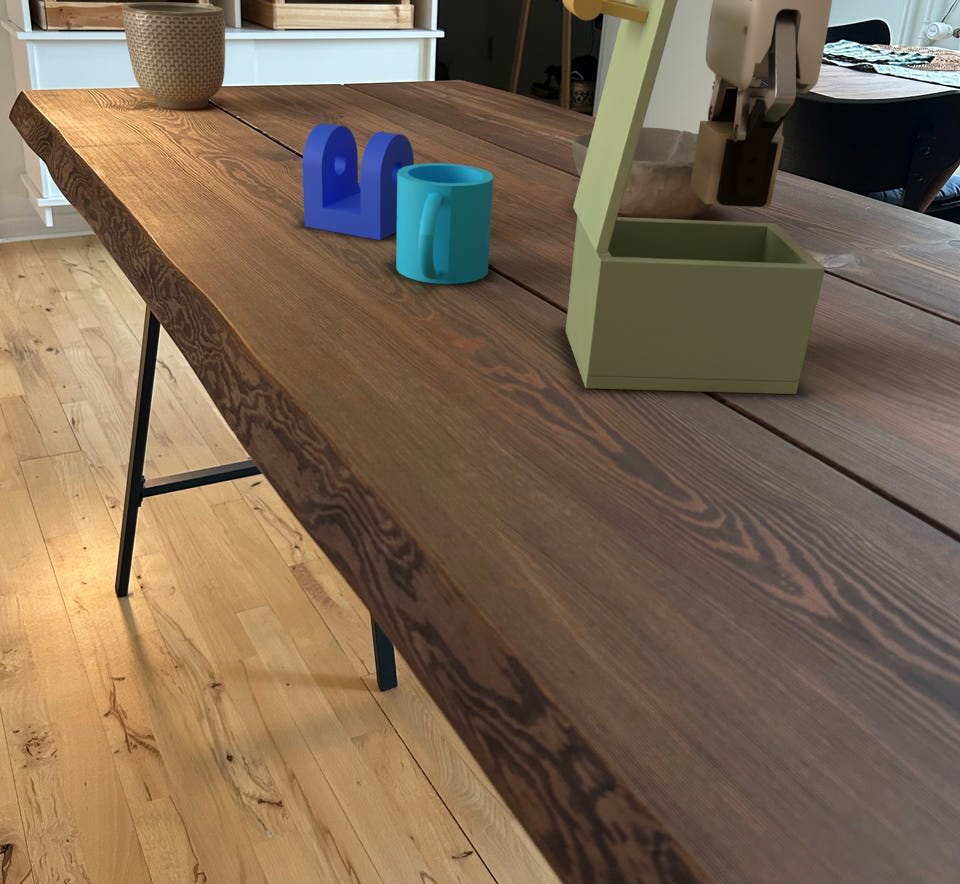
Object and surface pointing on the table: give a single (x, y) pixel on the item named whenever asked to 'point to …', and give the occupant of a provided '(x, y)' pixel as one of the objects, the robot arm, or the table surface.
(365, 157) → the bracket
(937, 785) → the table surface
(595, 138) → the chest lid
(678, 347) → the chest
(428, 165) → the mug
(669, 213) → the bowl
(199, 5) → the planter
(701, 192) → the block
